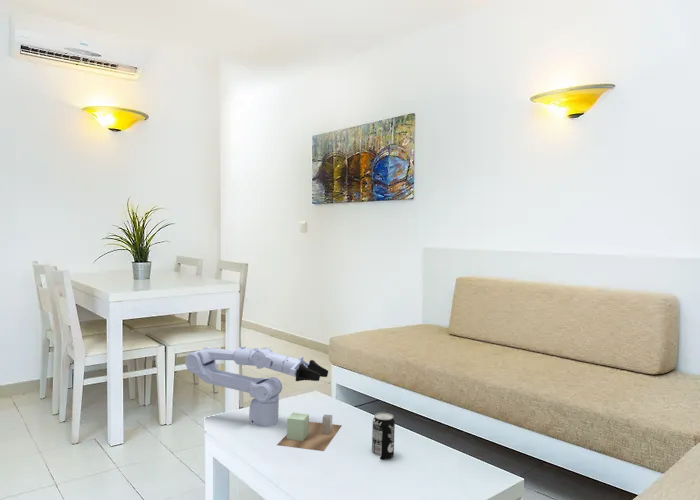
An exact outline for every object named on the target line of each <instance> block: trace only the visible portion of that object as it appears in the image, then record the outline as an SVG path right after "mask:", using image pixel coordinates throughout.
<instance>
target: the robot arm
mask: <svg viewBox="0 0 700 500" xmlns="http://www.w3.org/2000/svg"><path fill="white" fill-rule="evenodd" d="M219 360H220V361H234V363H235V364H236V365H241V366H252V367H256V369H259V370H260V369H264V368H265V369H268V370H271V371H274V372H277V373H282V374H285V375H289V376H292V377H294V378H295V382H302V381H313V382H319V381H320V379H321V377H322V378H328V375H329V370H328V369H326V368H324V367H322V366H321V365H320V364H318V363H317V362H316V361H315V360H313V359H310V360H309V362H307V361H305V360H304V356H300V357H299V359H298V358H295V357H291V356H287V355H284V354H280V353H278V352H274V351H273V350H272V349H271V348H268V347H262V348H261V349H259V347H254V348H247V346H246V345H245V346H244V345H243V346H242V345H241V346H240V347H238V348H236V349H235V350H233V349H232V350H231V349H225V348H224V349H223V348H216V347H203V348H200V349H199V350H196V351H191V352H189V353H187V354H186V356H185V357H184V363H185V366H186V368H187V371H188V372H189V373H192V374H195V376H197V377H198V378H199V379H201V380H202V382H204V383H206V384H210V385H214V386H218V387H223V388H225V389H230V390H235V391H240V392H244V393H249V396H250V398H252V400H251V401H250V404H249V410H248V412H249V415H248V417H249V418H248V424H249V425H255V426H256V425H257V426H261V427H274V426H276V425H277V424H279V406H280V405H279V402H280V401H279V400H280V398H279V397H280V395H279V394H280V393H281V392H282V390H283V383H282V382H281V380H280V379H279V378H278V377H276V376H273V377H269V378H268V377H267V378H266V377H256V378H255V377H252V376H248V375H242V374H239V373H234V372H230V371H224V370H221V369H218V366H217V362H216V361H219Z"/></svg>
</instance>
